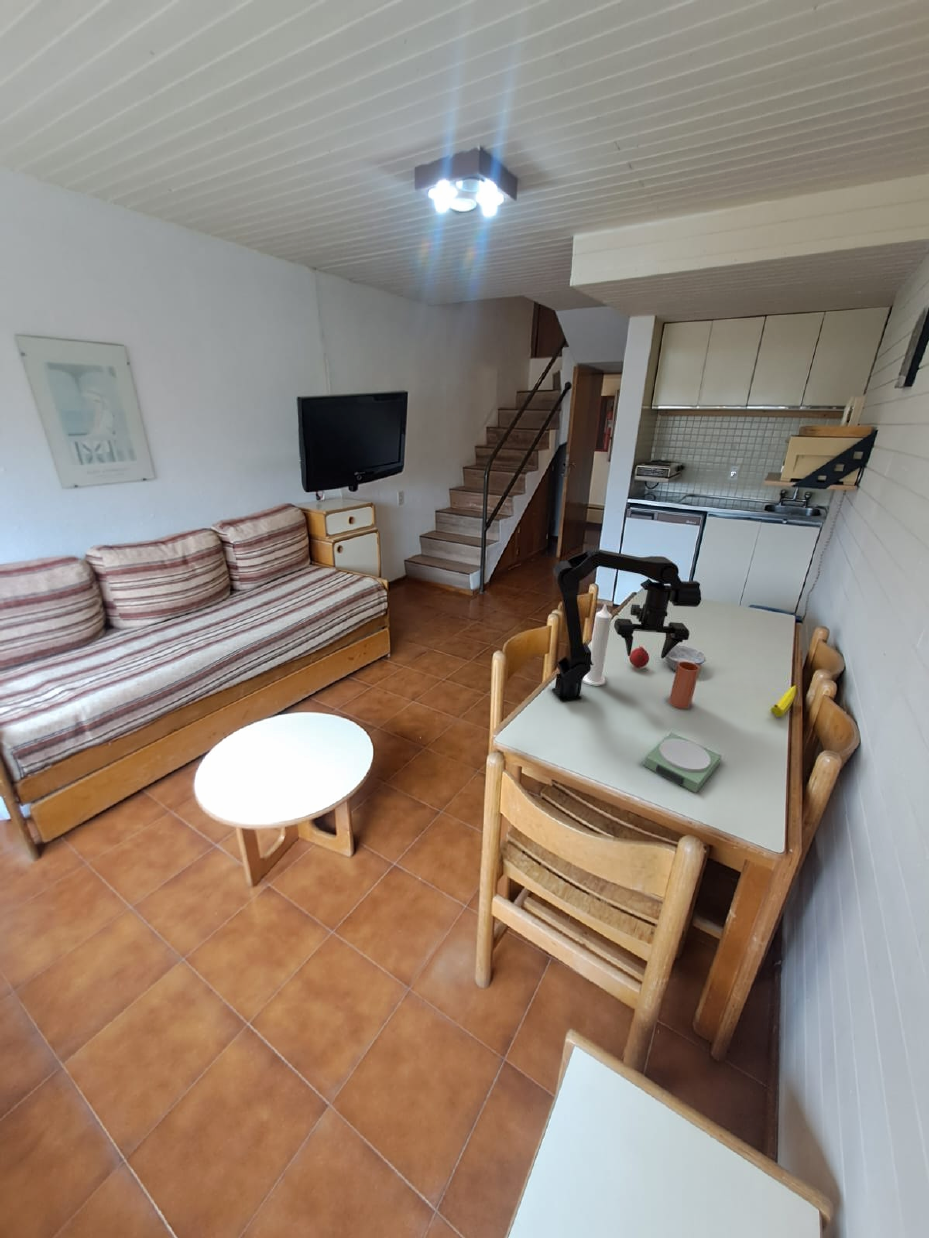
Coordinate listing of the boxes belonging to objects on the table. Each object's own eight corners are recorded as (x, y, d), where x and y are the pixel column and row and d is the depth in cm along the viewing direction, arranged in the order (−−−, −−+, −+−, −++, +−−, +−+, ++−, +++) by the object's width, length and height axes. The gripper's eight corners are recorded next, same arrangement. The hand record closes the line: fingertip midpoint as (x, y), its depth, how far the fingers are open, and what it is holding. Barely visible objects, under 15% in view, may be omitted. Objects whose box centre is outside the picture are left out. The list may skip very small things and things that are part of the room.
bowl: (676, 654, 168) (679, 641, 167) (710, 670, 159) (714, 657, 157) (651, 662, 162) (654, 649, 160) (685, 680, 152) (689, 666, 150)
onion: (644, 664, 161) (648, 642, 158) (648, 673, 155) (653, 650, 152) (626, 663, 161) (630, 641, 158) (629, 671, 156) (634, 649, 153)
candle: (592, 688, 146) (604, 610, 136) (576, 677, 151) (587, 601, 142) (610, 683, 149) (623, 606, 139) (594, 672, 154) (606, 598, 145)
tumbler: (677, 709, 136) (686, 672, 132) (665, 699, 141) (673, 662, 137) (694, 707, 138) (704, 670, 133) (681, 697, 143) (690, 660, 138)
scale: (694, 793, 106) (698, 781, 105) (642, 766, 114) (645, 755, 113) (719, 763, 116) (722, 752, 115) (669, 740, 123) (672, 729, 122)
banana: (795, 702, 142) (802, 683, 140) (775, 727, 130) (782, 707, 128) (784, 698, 144) (791, 679, 142) (763, 722, 132) (770, 702, 130)
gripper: (682, 596, 138) (670, 646, 144) (614, 592, 139) (606, 641, 145) (696, 611, 128) (682, 664, 134) (623, 606, 129) (613, 659, 135)
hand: (645, 656), depth 137 cm, fingers open, 9 cm apart
